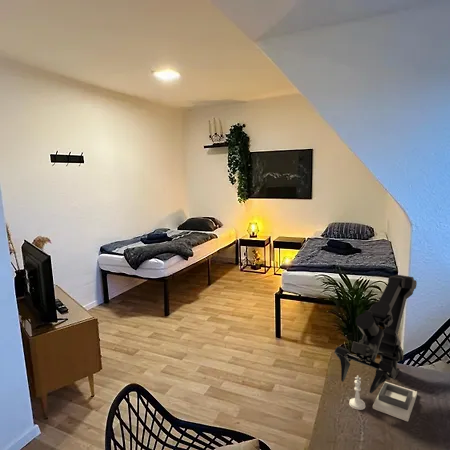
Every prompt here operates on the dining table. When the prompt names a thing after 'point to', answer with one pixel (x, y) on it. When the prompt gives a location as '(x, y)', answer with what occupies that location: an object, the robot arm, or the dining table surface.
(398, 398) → the board
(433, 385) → the dining table surface
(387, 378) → the robot arm
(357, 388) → the chess piece
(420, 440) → the dining table surface
